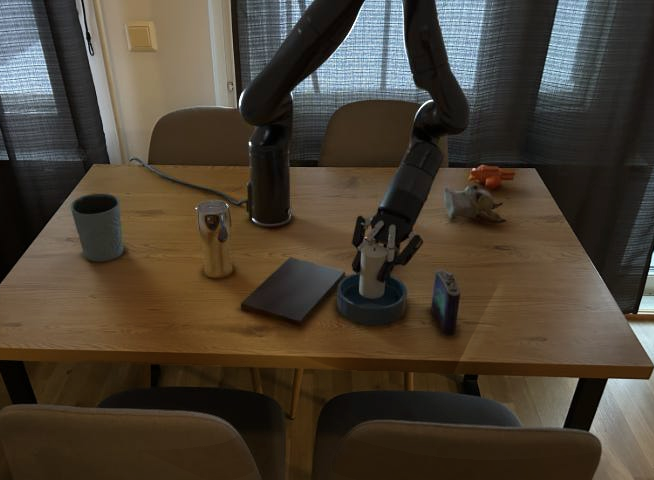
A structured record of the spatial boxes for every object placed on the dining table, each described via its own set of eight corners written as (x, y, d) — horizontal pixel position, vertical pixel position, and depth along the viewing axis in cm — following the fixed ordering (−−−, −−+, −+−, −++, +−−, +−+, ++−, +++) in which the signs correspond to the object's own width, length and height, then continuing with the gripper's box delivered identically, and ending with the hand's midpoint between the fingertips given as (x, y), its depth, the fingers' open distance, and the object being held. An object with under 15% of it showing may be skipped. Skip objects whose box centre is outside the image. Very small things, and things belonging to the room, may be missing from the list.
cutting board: (240, 309, 124) (240, 303, 123) (290, 262, 139) (290, 256, 138) (300, 327, 119) (300, 321, 118) (345, 277, 134) (345, 271, 133)
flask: (428, 308, 124) (434, 261, 118) (443, 307, 124) (450, 259, 118) (443, 337, 117) (451, 288, 110) (459, 336, 117) (467, 286, 111)
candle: (355, 294, 122) (357, 250, 117) (365, 282, 126) (367, 239, 120) (378, 301, 120) (382, 256, 115) (387, 288, 124) (391, 245, 118)
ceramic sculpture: (445, 173, 156) (508, 180, 155) (439, 205, 161) (499, 212, 160) (446, 191, 148) (512, 199, 146) (439, 225, 153) (503, 232, 151)
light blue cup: (98, 238, 148) (88, 190, 142) (136, 245, 146) (128, 196, 139) (71, 259, 141) (60, 209, 134) (111, 267, 138) (101, 216, 131)
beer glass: (239, 265, 138) (235, 201, 130) (226, 281, 133) (220, 216, 124) (210, 260, 140) (204, 197, 131) (196, 276, 134) (188, 211, 126)
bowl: (325, 315, 123) (326, 297, 120) (353, 282, 132) (354, 265, 130) (390, 334, 117) (392, 316, 115) (414, 298, 127) (416, 281, 125)
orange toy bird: (514, 161, 171) (468, 160, 171) (519, 180, 166) (472, 179, 166) (509, 175, 175) (465, 175, 175) (514, 194, 170) (468, 194, 170)
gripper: (367, 177, 121) (328, 258, 120) (435, 196, 113) (394, 283, 112) (380, 193, 127) (343, 270, 126) (445, 213, 120) (407, 295, 119)
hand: (367, 276), depth 119 cm, fingers closed on candle, 4 cm apart
